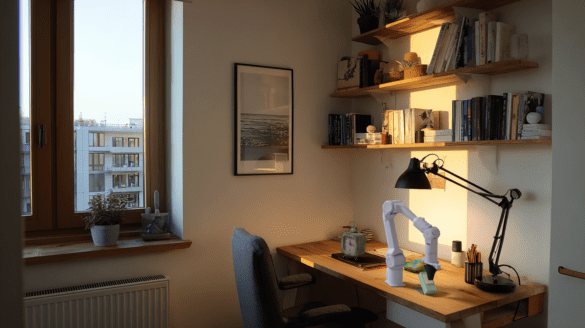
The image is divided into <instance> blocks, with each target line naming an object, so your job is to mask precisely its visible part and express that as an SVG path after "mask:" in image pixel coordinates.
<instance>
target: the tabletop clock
mask: <svg viewBox="0 0 585 328" xmlns="http://www.w3.org/2000/svg"><path fill="white" fill-rule="evenodd" d="M351 223H355V224H356V226H355V225H353V224H352V225H351ZM349 226H350V227H351V228H350V229H349V231H343V232H341V236H340V250H341V253H343V254H344V256H350V257H355V256H356V259H357V260H358V256H361V255H364V254H365V252H366V247H367V244H366V241H367V240H366V235H365V234H364V233H362V232H359V231H358V230H357V229H358V228H357V227H358V223H357V222H356V221H355V220H351V221H350V222H349ZM356 259H355V260H356Z"/></svg>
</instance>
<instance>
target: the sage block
mask: <svg viewBox="0 0 585 328" xmlns="http://www.w3.org/2000/svg"><path fill="white" fill-rule="evenodd" d="M417 278H418V281H419V283H420V287H422V289H423V292H424V294H423V295H424V296H425V295H436V293H437V290H438V289H437V286H436V284H435V281H434V279H433V280H428V277H427V273H426V271H423V272H419V274H417Z"/></svg>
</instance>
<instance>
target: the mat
mask: <svg viewBox="0 0 585 328" xmlns="http://www.w3.org/2000/svg"><path fill="white" fill-rule="evenodd" d="M412 289H413V290H415V291H417V292H418V293H419V294H421V295H425V294H424V292H423V289H422V286H413V287H412Z"/></svg>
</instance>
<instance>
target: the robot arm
mask: <svg viewBox="0 0 585 328" xmlns="http://www.w3.org/2000/svg"><path fill="white" fill-rule="evenodd" d="M381 207H382V220H383V221H382V222H383V227H384V233H385V238H386V242H387V248H388V250H387V251H386V253H385V264H386V266H387V267H386V270H385V272H386V273H385V280H384V282H385V283H386V284H387V285H389V286H390V287H391V288H392V287H393V288H394V287H406V284H405V283H403V282H404V281H403V277H404V276H403V274H404V272H403V271H404V264H405V263H406V262H407V258H406V256H405V254H404V252H403V250H402V249H401V248H400V246H399V245H400V244H399V240H398V234H397V230H396V224H395V219H394V218H395V217H396V216H397V214H402V215H403V216H404V217H406V218H407V219H408V220H410V221H411V222H412V225H413V227H415V228H416V229H417V230H418V231H420V233H422V237H423V238H424V249H425V250H424V257H421V259H422V262H425V263H427V264H426V265H424V268H425V270H426V271H425V272H426V273H427V277H428V280H433V281H434V279H435V275H436V273H437V271H438V270H441V269H442V267H441V266H442V265H441V264H440V260H438V248H439V247H438V244H439V243H438V242H439V240H438V239H439V238H440V236H441V230H440V229H439V228H438V227H437V226H433V224H431V223H429V222H428V221H426V219H425V217H422V216H417V215H416V214H415V213H414V212H413V211H412V210H411V209H410V208H409V207H408V206H407V205H406V203H405V202H403V201H402V200H401V199H394V200H385V201H384V203H383V204H382V206H381Z"/></svg>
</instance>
